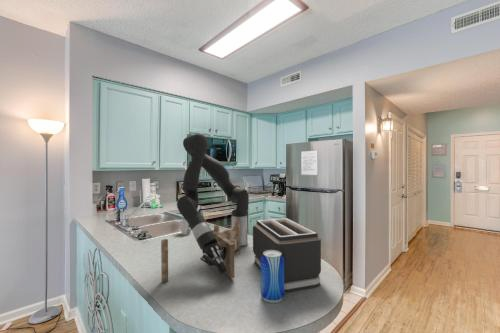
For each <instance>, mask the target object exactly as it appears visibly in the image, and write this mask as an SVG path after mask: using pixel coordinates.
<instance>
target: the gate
mask: <svg viewBox="0 0 500 333" xmlns="http://www.w3.org/2000/svg"><path fill="white" fill-rule="evenodd" d="M211 230H212V229H211ZM212 232H213V234H214V235H215V237H216V239H217V243H218V244H219V245H220V247H226V259H225V260H224V261H223V263H224V265H225V267H226V269H227V271H226V272H225V273H224V274H226V275H227V277H229V278H230V279H235V250H234V249H235V244H234V243H233V242H231V241H230V240H228V239H226V238H225V237H223V236H222V235H220V234H219V233H217V232H216V231H215V232H214V229H213V230H212ZM215 261H216V260H215Z"/></svg>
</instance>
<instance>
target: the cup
mask: <svg viewBox="0 0 500 333" xmlns="http://www.w3.org/2000/svg"><path fill="white" fill-rule="evenodd" d="M179 224H180V229H181V233H182V236H189V235H190V234H191V233H192V230H191V228H190V226H189V224H188V222H187V221H186V220H185V218H184V217H183V218H181V219H179Z"/></svg>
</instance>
